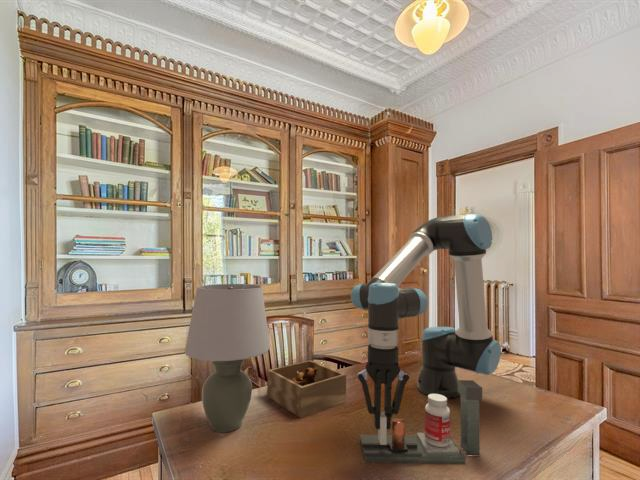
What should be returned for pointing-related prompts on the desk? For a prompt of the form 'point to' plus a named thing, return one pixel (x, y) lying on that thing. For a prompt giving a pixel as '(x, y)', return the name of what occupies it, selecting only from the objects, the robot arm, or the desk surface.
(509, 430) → the desk surface
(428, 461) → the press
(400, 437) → the lever
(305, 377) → the bear figurine
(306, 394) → the bear crate
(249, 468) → the desk surface
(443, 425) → the pill bottle
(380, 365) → the robot arm
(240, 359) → the lamp
